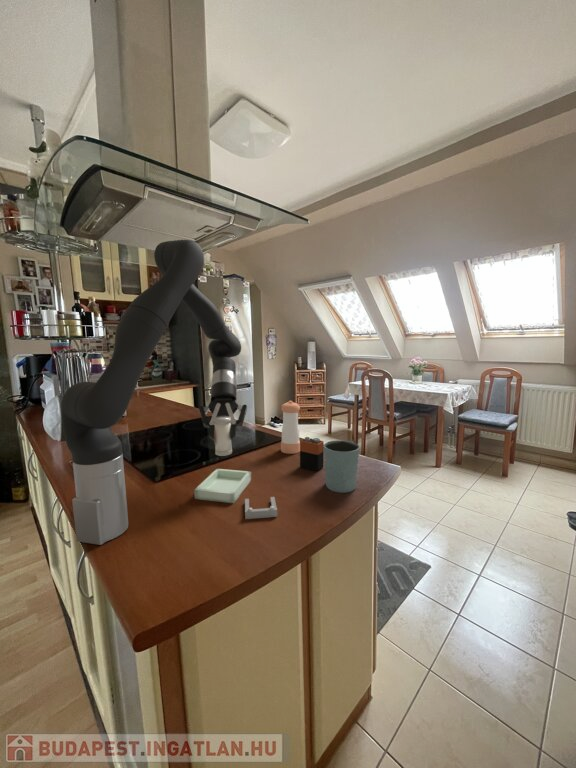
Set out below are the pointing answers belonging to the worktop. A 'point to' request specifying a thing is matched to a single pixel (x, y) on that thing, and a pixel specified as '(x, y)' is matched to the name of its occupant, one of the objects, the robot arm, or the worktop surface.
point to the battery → (311, 453)
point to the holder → (260, 511)
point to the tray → (223, 485)
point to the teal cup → (341, 465)
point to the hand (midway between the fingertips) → (222, 439)
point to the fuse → (222, 435)
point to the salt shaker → (290, 428)
